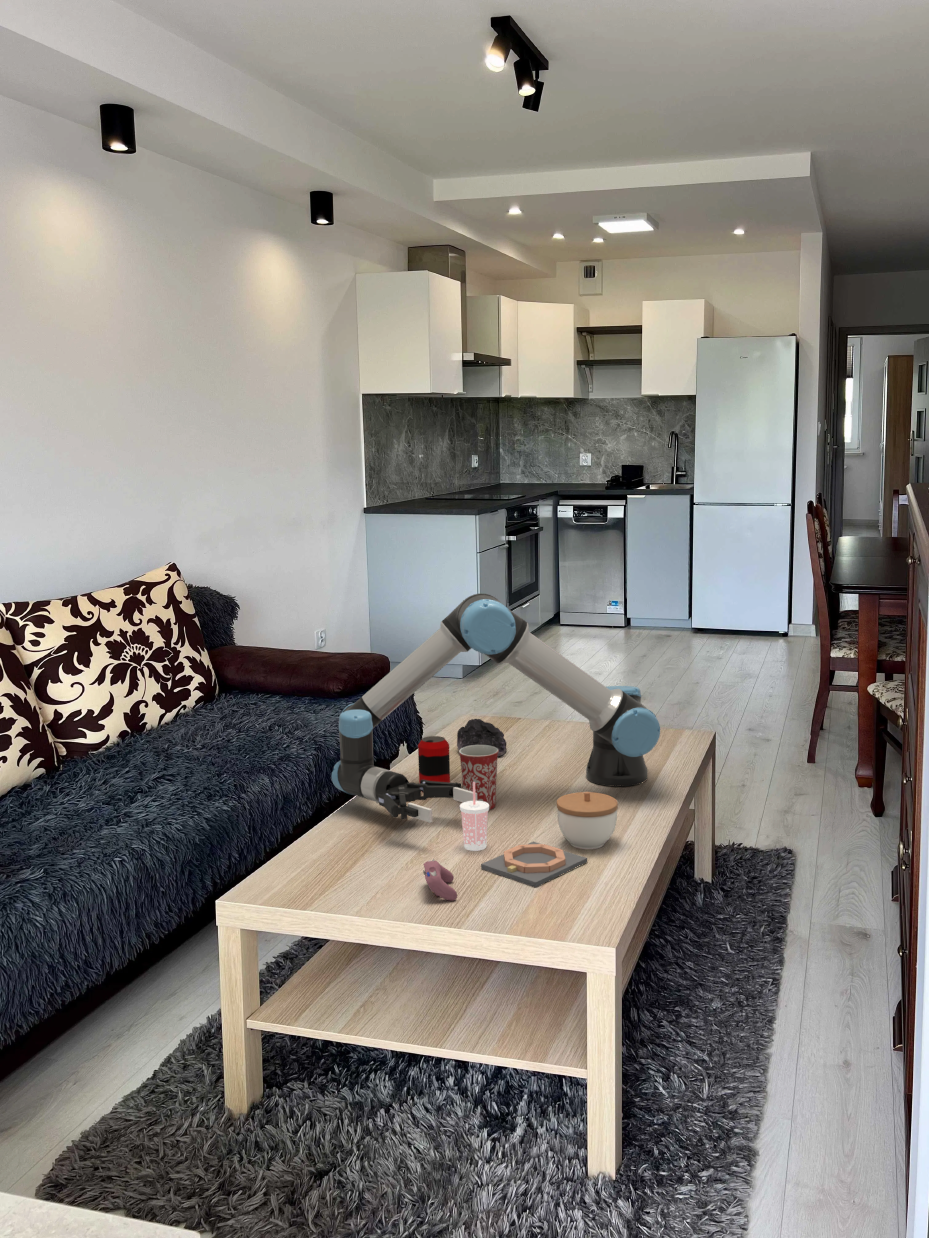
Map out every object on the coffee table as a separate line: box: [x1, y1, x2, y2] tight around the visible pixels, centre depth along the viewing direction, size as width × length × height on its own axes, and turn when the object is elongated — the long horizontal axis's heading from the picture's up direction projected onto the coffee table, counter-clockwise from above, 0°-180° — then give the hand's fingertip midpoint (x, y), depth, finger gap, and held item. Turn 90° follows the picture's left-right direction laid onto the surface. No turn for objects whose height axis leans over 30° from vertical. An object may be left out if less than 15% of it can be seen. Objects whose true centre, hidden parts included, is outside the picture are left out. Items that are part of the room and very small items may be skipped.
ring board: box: [480, 841, 588, 888], centre depth 215 cm, size 16×14×2 cm
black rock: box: [456, 718, 507, 757], centre depth 293 cm, size 13×14×10 cm
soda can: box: [417, 735, 451, 784], centre depth 266 cm, size 8×8×12 cm
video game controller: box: [422, 858, 458, 902], centre depth 203 cm, size 10×5×7 cm, turn 5°
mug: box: [458, 745, 499, 811], centre depth 252 cm, size 13×9×14 cm
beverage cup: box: [459, 782, 490, 852], centre depth 225 cm, size 6×6×14 cm
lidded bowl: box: [556, 791, 619, 850], centre depth 226 cm, size 13×13×11 cm
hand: (454, 807), depth 228 cm, fingers open, 13 cm apart
